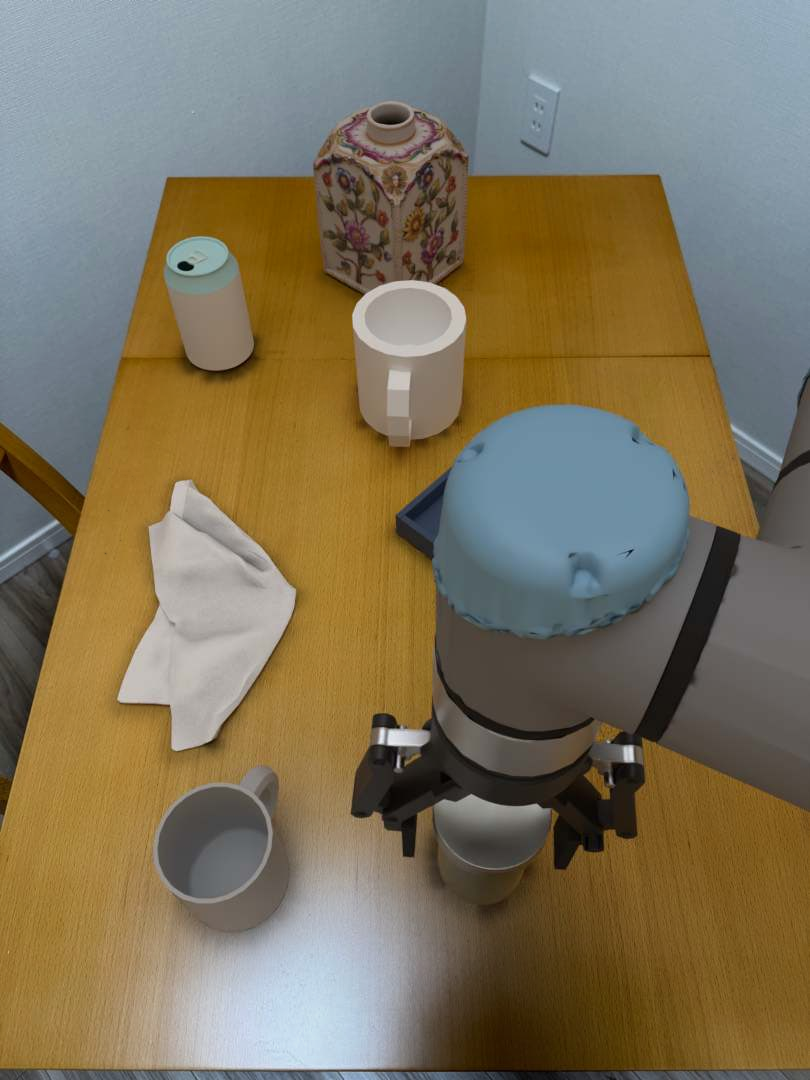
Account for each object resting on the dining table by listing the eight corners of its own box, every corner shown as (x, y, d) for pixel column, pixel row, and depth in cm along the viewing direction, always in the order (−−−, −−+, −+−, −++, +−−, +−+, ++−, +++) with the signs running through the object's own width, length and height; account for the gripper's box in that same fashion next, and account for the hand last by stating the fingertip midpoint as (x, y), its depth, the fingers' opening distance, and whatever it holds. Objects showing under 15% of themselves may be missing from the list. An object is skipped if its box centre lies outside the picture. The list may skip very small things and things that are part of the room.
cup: (165, 908, 58) (129, 874, 51) (236, 775, 63) (213, 727, 56) (260, 952, 56) (236, 924, 49) (325, 811, 62) (312, 767, 54)
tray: (592, 538, 75) (597, 521, 73) (512, 620, 71) (514, 604, 68) (477, 461, 80) (478, 442, 78) (395, 532, 76) (395, 515, 74)
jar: (541, 857, 60) (562, 809, 51) (486, 925, 57) (498, 887, 49) (475, 799, 62) (484, 744, 54) (419, 862, 60) (420, 815, 51)
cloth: (283, 751, 64) (279, 739, 62) (101, 752, 64) (91, 740, 63) (306, 481, 79) (303, 465, 77) (158, 482, 79) (152, 467, 78)
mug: (458, 469, 80) (463, 387, 71) (349, 464, 80) (341, 382, 72) (463, 367, 88) (468, 282, 79) (363, 363, 88) (357, 278, 79)
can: (250, 375, 87) (229, 279, 78) (182, 375, 88) (152, 278, 78) (258, 328, 91) (239, 231, 82) (193, 328, 92) (166, 231, 82)
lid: (493, 739, 55) (495, 728, 53) (573, 824, 52) (577, 814, 50) (408, 811, 52) (408, 801, 51) (487, 904, 49) (489, 896, 48)
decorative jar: (466, 264, 97) (475, 108, 82) (399, 317, 92) (396, 160, 77) (387, 224, 102) (382, 68, 87) (319, 272, 97) (302, 116, 82)
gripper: (756, 638, 39) (648, 798, 58) (286, 607, 41) (327, 773, 59) (783, 800, 35) (657, 917, 53) (257, 760, 36) (311, 888, 55)
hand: (484, 842), depth 56 cm, fingers open, 9 cm apart
